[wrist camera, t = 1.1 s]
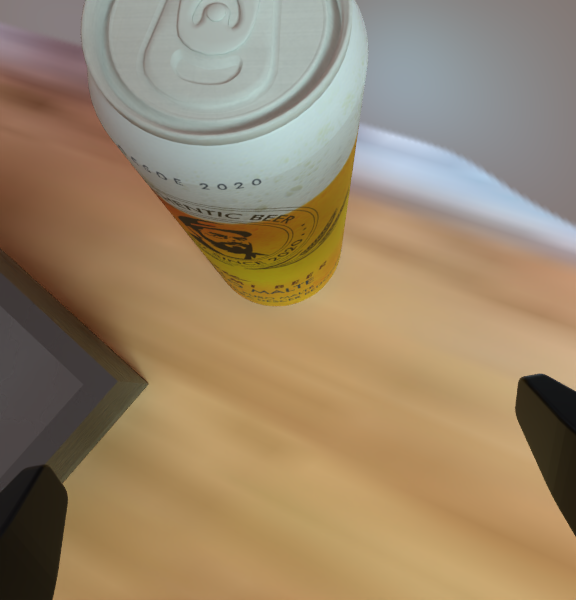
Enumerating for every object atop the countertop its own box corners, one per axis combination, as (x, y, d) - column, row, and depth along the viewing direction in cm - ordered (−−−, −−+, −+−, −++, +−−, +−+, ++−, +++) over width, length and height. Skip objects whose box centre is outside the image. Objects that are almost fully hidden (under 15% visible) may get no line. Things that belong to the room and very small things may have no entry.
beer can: (206, 298, 24) (23, 136, 9) (231, 184, 25) (103, -126, 10) (330, 318, 23) (347, 179, 8) (349, 200, 24) (393, -105, 10)
